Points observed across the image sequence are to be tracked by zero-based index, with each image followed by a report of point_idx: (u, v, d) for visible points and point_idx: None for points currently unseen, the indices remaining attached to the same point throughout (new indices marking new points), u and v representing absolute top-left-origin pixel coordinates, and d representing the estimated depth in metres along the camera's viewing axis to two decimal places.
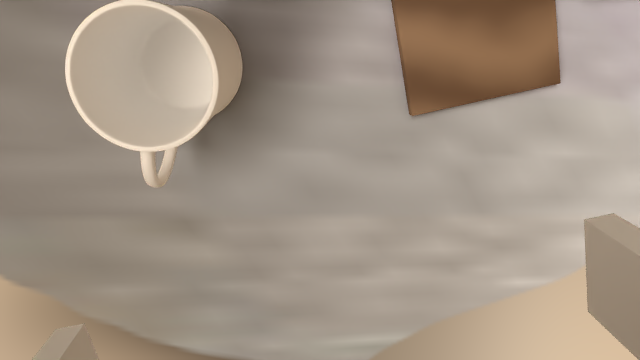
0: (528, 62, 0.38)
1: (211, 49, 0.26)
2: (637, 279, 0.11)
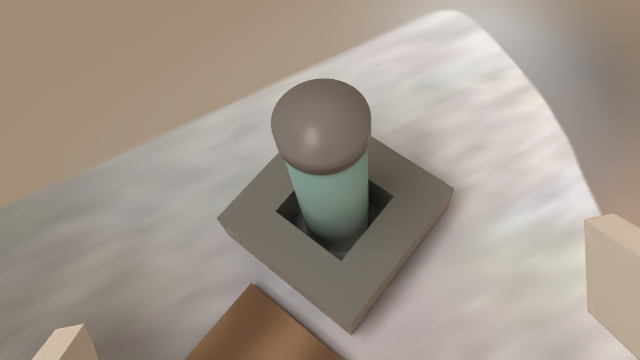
0: None
1: None
2: (637, 279, 0.11)
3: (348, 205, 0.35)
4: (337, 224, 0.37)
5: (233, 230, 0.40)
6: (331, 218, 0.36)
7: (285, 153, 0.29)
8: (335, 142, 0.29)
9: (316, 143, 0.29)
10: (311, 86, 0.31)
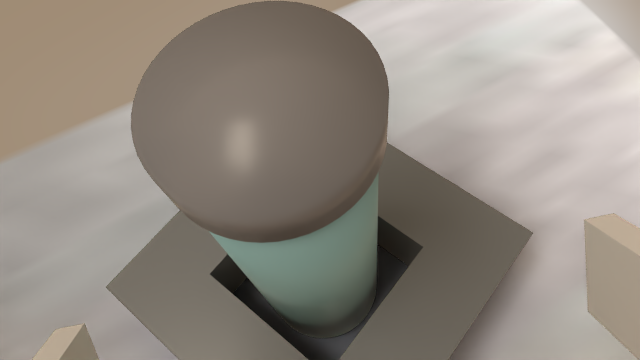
0: None
1: None
2: (637, 279, 0.11)
3: (338, 284, 0.17)
4: (317, 310, 0.19)
5: (133, 310, 0.22)
6: (303, 304, 0.18)
7: (161, 188, 0.11)
8: (293, 158, 0.11)
9: (242, 161, 0.11)
10: (241, 19, 0.12)
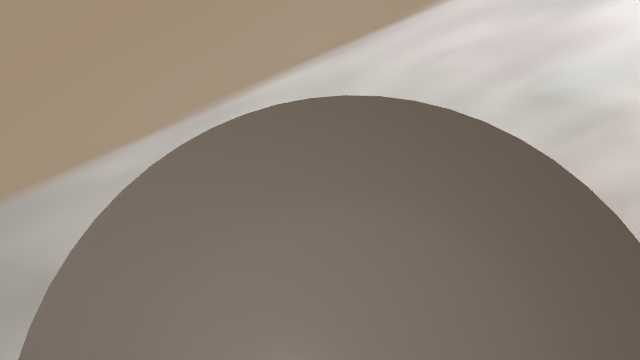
0: None
1: None
2: None
3: None
4: None
5: None
6: None
7: None
8: None
9: None
10: (284, 140, 0.05)
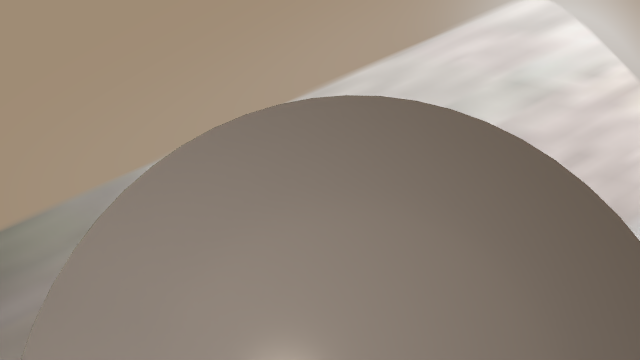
0: None
1: None
2: None
3: None
4: None
5: None
6: None
7: None
8: None
9: None
10: (285, 140, 0.05)
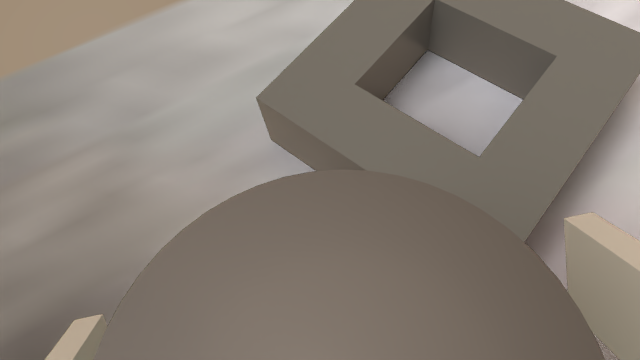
0: None
1: None
2: (612, 276, 0.11)
3: None
4: None
5: (285, 114, 0.24)
6: None
7: None
8: None
9: None
10: (291, 209, 0.07)
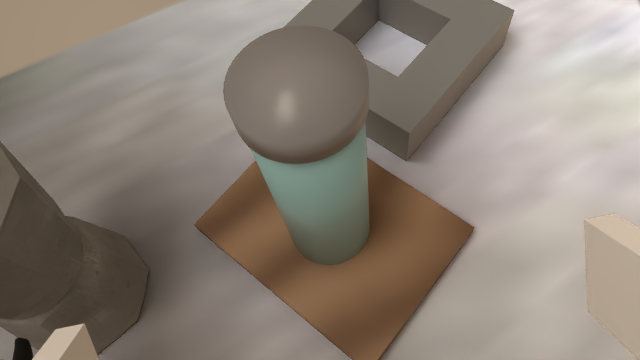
0: (428, 235, 0.34)
1: None
2: (637, 279, 0.11)
3: (340, 207, 0.26)
4: (326, 231, 0.28)
5: None
6: (317, 224, 0.27)
7: (242, 131, 0.20)
8: (316, 114, 0.19)
9: (288, 116, 0.19)
10: (283, 36, 0.21)
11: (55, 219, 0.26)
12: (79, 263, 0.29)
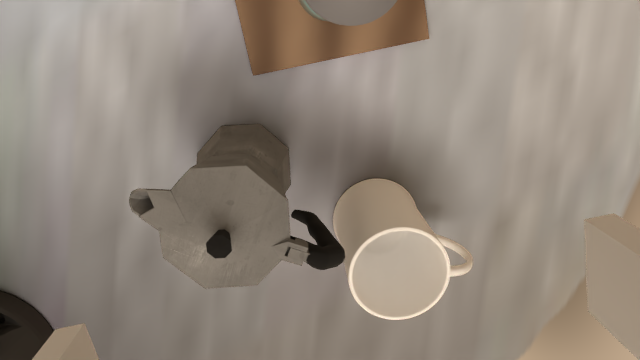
0: None
1: (382, 230, 0.37)
2: (637, 279, 0.11)
3: None
4: None
5: None
6: None
7: None
8: None
9: None
10: None
11: (251, 160, 0.36)
12: (261, 162, 0.40)
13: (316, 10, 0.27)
